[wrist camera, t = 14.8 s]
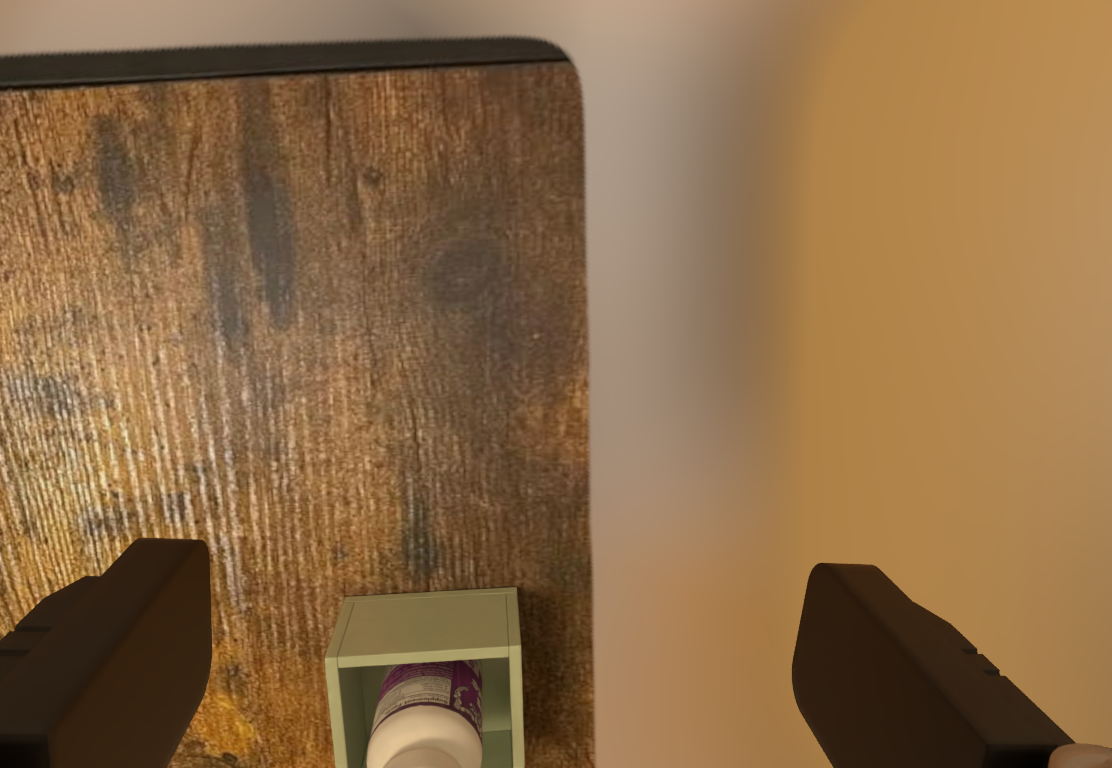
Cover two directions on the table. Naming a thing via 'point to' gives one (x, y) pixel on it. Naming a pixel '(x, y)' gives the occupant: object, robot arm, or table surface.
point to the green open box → (427, 636)
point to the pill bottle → (428, 716)
